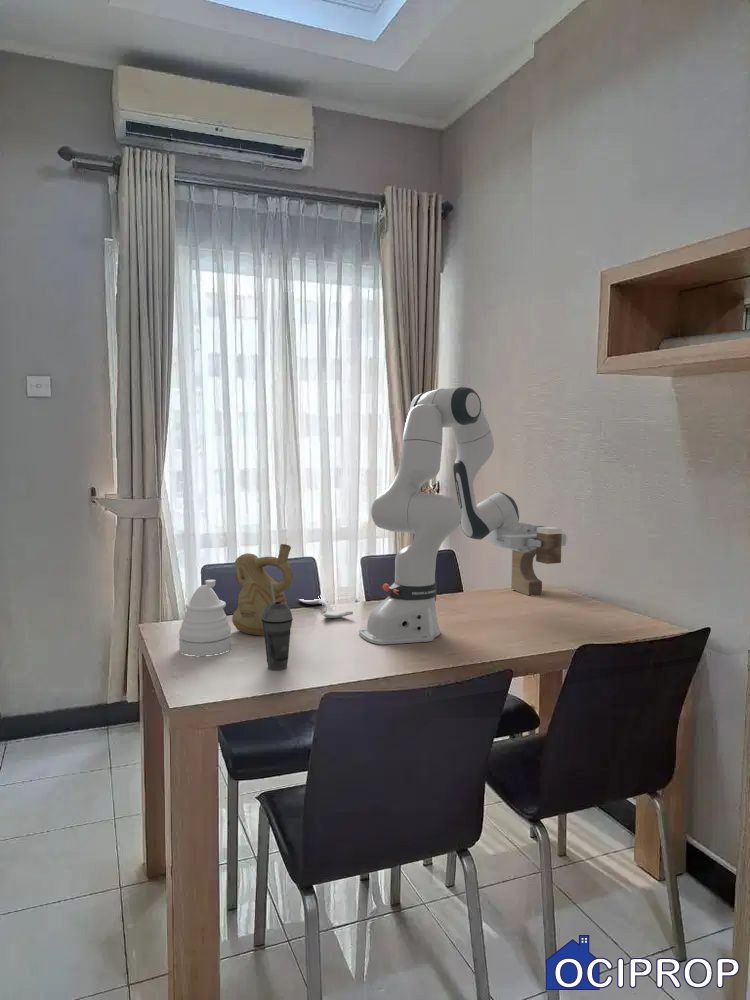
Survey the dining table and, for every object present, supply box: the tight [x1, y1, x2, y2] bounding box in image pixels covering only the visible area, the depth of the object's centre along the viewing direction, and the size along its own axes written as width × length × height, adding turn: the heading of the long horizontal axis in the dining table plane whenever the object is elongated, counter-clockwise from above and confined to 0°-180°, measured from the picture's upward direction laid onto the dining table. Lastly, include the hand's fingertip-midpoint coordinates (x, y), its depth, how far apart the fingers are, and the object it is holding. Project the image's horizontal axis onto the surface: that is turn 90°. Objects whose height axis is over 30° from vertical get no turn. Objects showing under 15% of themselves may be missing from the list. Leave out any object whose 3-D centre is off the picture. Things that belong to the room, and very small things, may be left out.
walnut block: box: [535, 526, 563, 565], centre depth 199 cm, size 5×5×10 cm
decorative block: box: [511, 549, 543, 597], centre depth 242 cm, size 11×6×20 cm, turn 23°
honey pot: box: [178, 579, 232, 656], centre depth 175 cm, size 13×13×18 cm
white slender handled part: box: [298, 594, 354, 619], centre depth 216 cm, size 9×32×4 cm, turn 23°
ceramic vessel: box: [231, 543, 294, 636], centre depth 192 cm, size 17×20×25 cm
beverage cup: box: [262, 584, 294, 671], centre depth 161 cm, size 7×7×20 cm
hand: (550, 543), depth 198 cm, fingers closed on walnut block, 5 cm apart
